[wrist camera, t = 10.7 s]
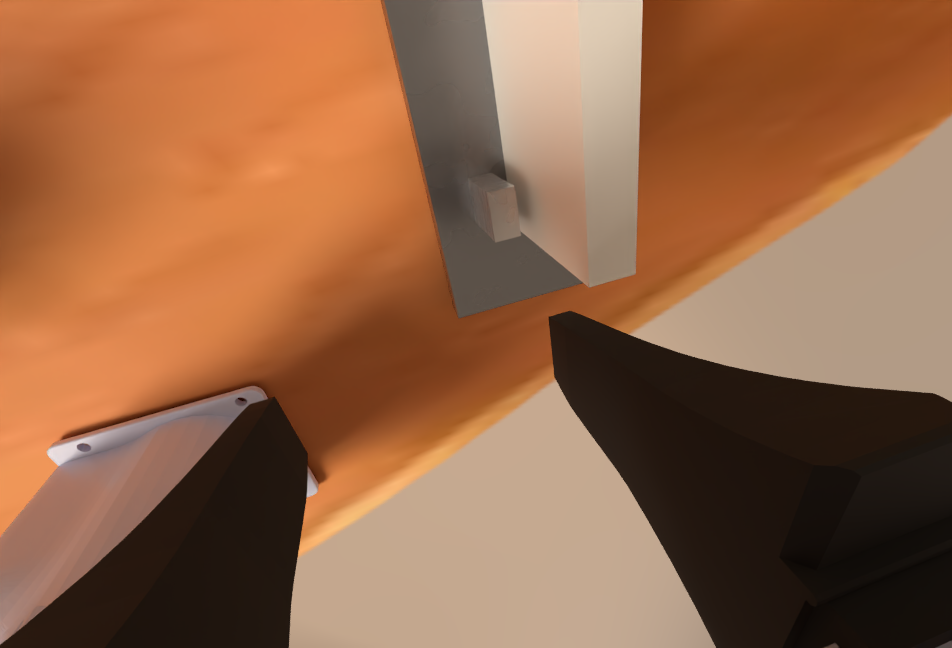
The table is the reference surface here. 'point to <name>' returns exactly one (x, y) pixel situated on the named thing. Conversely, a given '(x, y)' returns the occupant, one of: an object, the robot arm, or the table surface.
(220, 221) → the table surface
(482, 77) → the rail
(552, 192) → the cabinet door
